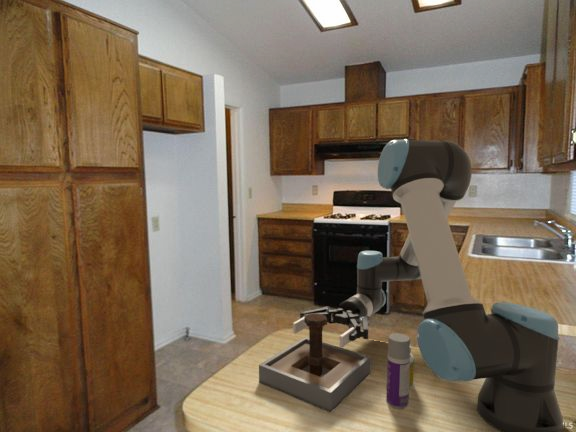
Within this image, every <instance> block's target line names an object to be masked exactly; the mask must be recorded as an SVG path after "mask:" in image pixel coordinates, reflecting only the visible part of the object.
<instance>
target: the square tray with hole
mask: <svg viewBox="0 0 576 432" xmlns="http://www.w3.org/2000/svg"><path fill="white" fill-rule="evenodd" d="M309 346H310V344H309V343H305V344H303V345H302V346H300V347H298V348H297V349H295V350H294V351H292V352H290V353H289V354H287V355H286V356H284V357H282V358H281V359H279V360H278V361H276V362H275V363H273V364H271V365H270V367H273V368H275V369H278V370H280V371H283V372H286V373H288V374H291V375H294V376H296V377H299V378H301V379H304V380H307V381H309V382H312V383H315V384H317V385H320V386H322V387H325V388H328V389H330V388H331V387H332V386H333V385H334V384H335V383H337V382H338V381H339V380H340V379H341V378H342V377H343V376H344V375H346V374H347V373H348V372H349V371H350V370H351V369H352V368H354V367H355V366H356V365H357V364H358V363H359V362H360V361H361V359H358V358H355V357H351V356H348V355H345V354H342V353H338V352H335V351H332V350H329V349H326V348H322V352H323V353H324V354H325V357H326V362H325V363H324V364H323V365H322V367H323V368H326V369H329V370H331V371H330V372H328V373H327V374H326V375H325V376H323V377H319V376H316V375H314V374H311V373H308V372H306V371H303V370H302V369H303V368H305V367H306V366H308V365H309V364H308V362H307V360H306V354H307V353H309V349H310V348H309Z"/></svg>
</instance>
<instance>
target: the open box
mask: <svg viewBox="0 0 576 432" xmlns="http://www.w3.org/2000/svg"><path fill="white" fill-rule="evenodd" d="M305 343H309V337H308V336H304V337H302V338H301V339H299V340H298V341H296V342H294V343H293V344H291V345H290V346H288V347H286V348H285V349H282V351H280V352H277V353H276V354H274V355H273V356H271V357H270V358H267V359H266V360H265V361H263V362H262V363H260V364H258V383H259V384H261V385H264V386H267V387H269V388H271V389H272V390H276V391H278V392H280V393H283V394H285V395H288V396H289V397H292V398H295V399H297V400H299V401H302V402H304V403H307V404H309V405H311V406H313V407H316V408H318V409H321V410H323V411H326V412H328V413H332V412H333V411H334V410H335V409H336V408H338V406H339V405H340V404H341V403H342V402H343V401H344V400H345V399H347V397H348V396H349V395H351V393H353V391H355V389H357V388H358V387H359V385H360V384H362V383H363V382H364V381H365V380H366V378H367V377H369V376H370V375H371V365H372V364H371V359H372V358H371V356H370V355H367V354H363V353H360V352H356V351H353V350H350V349H346V348H344V347H343V348H342V347H340V346H336V345H334V344H330V343H327V342H323V341H322V348H326V349H329V350H332V351H335V352H338V353H342V354H345V355H348V356H351V357H355V358H358V359H361V361H360V362H359V363H358V364H357V365H356V366H355V367H354V368H352V369H351V370H350V371H349V372H348V373H347V374H346V375H344V376H343V377H342V378H341V379H340V380H339V381H338V382H337V383H335V384H334V385H333V386H332V387H331V388H330V389H328V388H325V387H322V386H320V385H317V384H315V383H312V382H309V381H307V380H304V379H301V378H299V377H296V376H294V375H291V374H288V373H286V372H283V371H280V370H278V369H275V368H273V367H270V365H271V364H273V363H275V362H276V361H278V360H279V359H281V358H282V357H284V356H286V355H287V354H289V353H290V352H292V351H294V350H295V349H297V348H298V347H300V346H302V345H303V344H305ZM302 370H303V371H306V372H308V373H310V364H309V365H308V366H306V367H305V368H303V369H302ZM330 371H331V370H329V369H326V368H323V367H322V374H321V376H320V377H323V376H325V375H326V374H327V373H328V372H330ZM317 376H318V375H317Z"/></svg>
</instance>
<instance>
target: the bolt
mask: <svg viewBox="0 0 576 432" xmlns="http://www.w3.org/2000/svg"><path fill="white" fill-rule="evenodd" d="M304 322H305V323H306V325H307V326H308V331H309V333H308V336H309V337H308V338H309V344H310V346H309V348H310V349H309V353H307V354H306V360H307V362H308V364H310V373H311V374H314V375H316V376H317V375H318V376H319V377H320V376H321V374H322V365H323V364H324V363H325V362H326V357H325V354H324V353H323V352H322V342H323V330H324V329H323V328H324V327H325V326H327V325H328V322H327V318H326V316H324V315H322V314H308V315H307V316H305V317H304Z"/></svg>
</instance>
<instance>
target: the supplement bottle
mask: <svg viewBox="0 0 576 432" xmlns="http://www.w3.org/2000/svg"><path fill="white" fill-rule="evenodd" d="M414 363H415V359H414V355H413V354H412V345H411V344H410V368H409V389H411V388H412V387H413V386H414V367H415V365H414Z"/></svg>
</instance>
